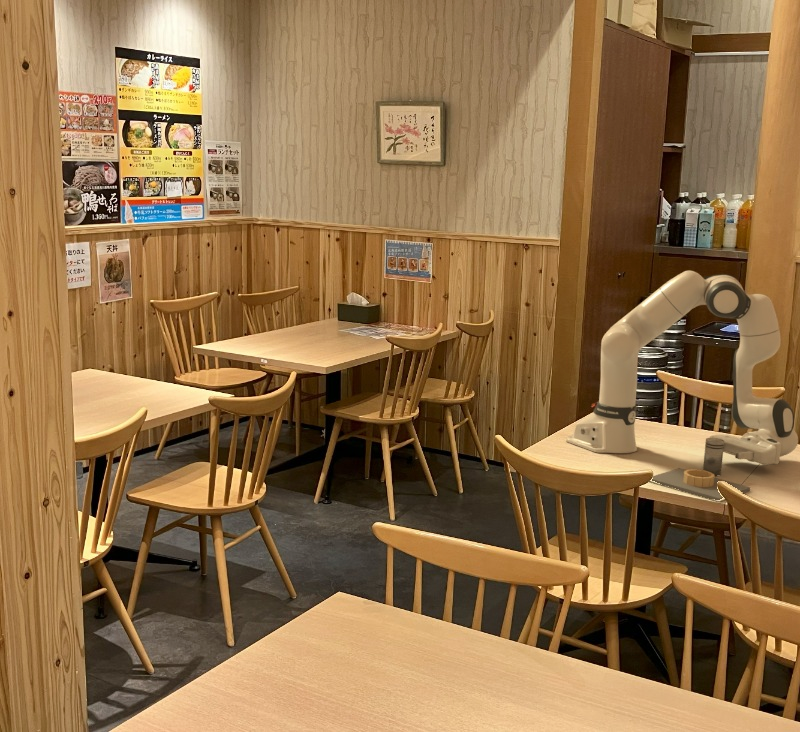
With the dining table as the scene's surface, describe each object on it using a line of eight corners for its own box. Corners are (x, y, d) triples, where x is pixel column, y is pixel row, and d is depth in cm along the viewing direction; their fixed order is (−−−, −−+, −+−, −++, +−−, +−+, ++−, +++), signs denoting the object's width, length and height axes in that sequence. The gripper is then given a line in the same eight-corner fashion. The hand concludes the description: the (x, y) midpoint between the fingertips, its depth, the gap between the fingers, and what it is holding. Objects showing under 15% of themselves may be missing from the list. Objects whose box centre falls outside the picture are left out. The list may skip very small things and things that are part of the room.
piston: (699, 473, 278) (702, 439, 276) (708, 469, 282) (711, 436, 280) (715, 477, 275) (718, 443, 273) (724, 474, 278) (727, 440, 276)
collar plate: (647, 481, 269) (648, 469, 268) (678, 471, 279) (679, 459, 279) (719, 502, 253) (720, 489, 252) (749, 490, 263) (751, 478, 263)
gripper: (727, 427, 295) (696, 432, 288) (785, 444, 278) (754, 450, 271) (725, 447, 296) (694, 453, 289) (782, 465, 279) (751, 471, 272)
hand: (723, 451), depth 280 cm, fingers open, 8 cm apart
